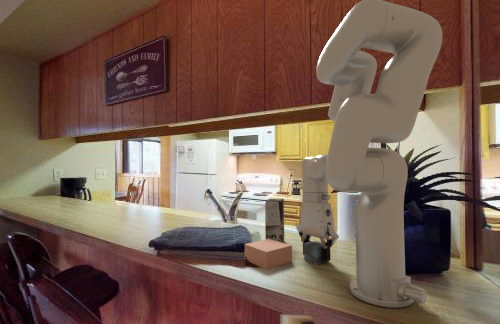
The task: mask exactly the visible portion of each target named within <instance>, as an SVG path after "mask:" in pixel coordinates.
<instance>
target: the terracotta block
mask: <svg viewBox="0 0 500 324" xmlns="http://www.w3.org/2000/svg"><path fill="white" fill-rule="evenodd" d="M245 256H246V257H247V259H248V260H249V262H248V263H250V262H251V264H253V265H255V266H258V267H260V268H262V269H265V270H269V269H272V268H273V269H274V268H276V267H280V266H283V265H285V264H289V263H291V262H293V261H292V260H293V245H292V244H287V243H286V242H285V243H282V242H278V241H275V240H271V239H263V240H257V241H254V242H253V241H252V242H248V243H245V244H244V257H245Z"/></svg>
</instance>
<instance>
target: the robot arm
mask: <svg viewBox="0 0 500 324" xmlns="http://www.w3.org/2000/svg"><path fill="white" fill-rule="evenodd" d="M442 43H443V30H442V26H441V24H440V23H439V21H438V20H437V19H436V18H434V17H433V16H432V15H430V14H428V13H426V12H423V11H420V10H418V9H414V8H411V7H408V6H405V5H400V4H397V3H392V2H390V1H387V0H386V1H385V0H361V1H359V2H358V1H357V3H356V4H354V6H353V7H352V8H351V9H349V12H348V13H346V16H344V18H343V20H342V21H341V22H340V24H339V26H338V27H337V28H336V29H335V31H334V33H333V34H332V36H331V37H330V38H329V40H328V41H327V43H326V45H325V46H324V48H323V50H322V52H321V53H320V56H319V59H318V61H317V65H316V71H315V73H316V78H317V79H318V81H319V82H320V83H321V84H324V85H331V86H334V89H333V92H332V95H331V96H332V97H331V101H330V104H329V109H328V112H327V115H328V118H329V119H330V120H331V121H333V122H334V123H333V128H332V133H331V138H330V142H329V147H328V151H327V154H318V155H315V156H307V157H304V158H303V159H302V161H301V181H302V183H301V185H302V186H301V187H302V188H301V189H302V201H301V205H300V212H299V213H300V214H299V223H298V225H296V227H295V229H296V230H297V233H298V234H299V235H298V236H299V237H300V238H301V239H300V241H301V242H302V255H303V256H304V243H308V242H312V240H311V238H312V237H314V238H318V239H320V242H321V243H322V246H323V248H321V261H322V262H324V263H327V262H330V261H331V248H332V247H333V245H334V244H335V243H336V242H337V241H338V240H339V238H340V235H338V233H337V231H336V230H335V221H334V213H333V208H332V204H331V203H330V202H329V200H331V195H329V186H330V187H331V188H332V189H333V190H334V191H336V192H338V193H345V194H346V193H348V194H349V193H352V194H353V193H360V194H359V197H358V199H357V202H356V206H355V214H354V216H355V218H354V219H355V221H354V223H355V224H354V225H355V228H354V229H355V259H356V261H355V266H356V267H355V268H356V272H355V273H356V278H354V279H352V280H351V281H350V282H349V291H350V293H351V294H352V295H353V296H354V297H356V298H357V299H359V300H361V301H363V302H365V303H367V304H371V305H375V306H378V307H384V308H395V309H396V308H397V309H398V308H406V307H409V306H411V305H412V304H414V303H415V302H418V303H420V304H422V305H424V304H425V303H426V302H427V294H426V290H425V289H424V288H421V287H420V286H419V287H418V286H414V285H413V284H412V282H411V278H412V277H411V276H410V275H409V276H408V275H406V256H405V252H406V250H405V224H404V223H405V220H404V219H405V218H404V209H405V207H404V206H405V193H406V188H407V187H406V186H407V182H408V174H409V173H408V171H409V168H408V165H407V162H406V160H405V158H404V157H403V156H402V154H400V153H399V152H397V151H396V150H394V149H390V148H386V147H370V144H372V143H373V144H374V143H375V144H395V143H396V144H397V143H400V142H403V141H406V140H407V139H408V138H409V137H410V136H411V134H412V132H413V130H414V127H415V124H416V121H417V117H418V114H419V111H420V108H421V105H422V102H423V99H424V95H425V92H426V89H427V84H428V80H429V79H430V75H431V74H432V73H431V72H432V70H433V67H434V66H435V63H436V60H437V58H438V56H439V54H440V52H441V47H442ZM362 48H363V49H368V50H374V51H378V52H384V53H391V54H393V56H392V57H391V58H390V59H389V61H387V63H386V64H385V66H384V67H383V69H382V71H381V73H380V75H379V79H378V82H377V87H376V91H375V93H374V94H373V93H371V90H372V86H373V83H374V80H375V77H376V74H377V69H378V62H377V59H376V58H375V57H374V56H373V55H372V54H370V53H369V52H365V51H363V50H361V49H362Z"/></svg>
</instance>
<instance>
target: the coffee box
mask: <svg viewBox="0 0 500 324" xmlns="http://www.w3.org/2000/svg"><path fill="white" fill-rule="evenodd" d="M264 207H265V208H264V211H265V217H264V219H265V222H264V223H265V236H264V237H265V239H264V240H266V239H271V240H275V241H278V242H282V243H284V242H285V200H284V198H268V199H266V200H265V205H264Z"/></svg>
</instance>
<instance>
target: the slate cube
mask: <svg viewBox="0 0 500 324" xmlns="http://www.w3.org/2000/svg"><path fill="white" fill-rule="evenodd" d="M321 248H323V246H322V243H321V241H318V240H313V241H312V240H311V242H308V243H304V255H303V256H304V257H303V258H304V259H303V260H304V261H306V262H309V263H311V264H314V265H320V264H323V263H325V262H322V261H321Z"/></svg>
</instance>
